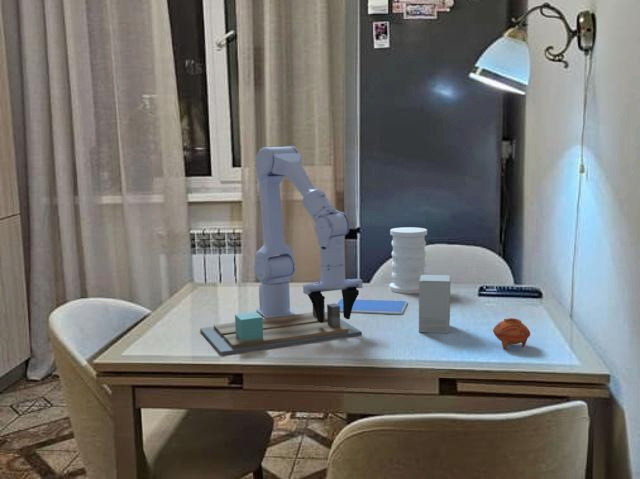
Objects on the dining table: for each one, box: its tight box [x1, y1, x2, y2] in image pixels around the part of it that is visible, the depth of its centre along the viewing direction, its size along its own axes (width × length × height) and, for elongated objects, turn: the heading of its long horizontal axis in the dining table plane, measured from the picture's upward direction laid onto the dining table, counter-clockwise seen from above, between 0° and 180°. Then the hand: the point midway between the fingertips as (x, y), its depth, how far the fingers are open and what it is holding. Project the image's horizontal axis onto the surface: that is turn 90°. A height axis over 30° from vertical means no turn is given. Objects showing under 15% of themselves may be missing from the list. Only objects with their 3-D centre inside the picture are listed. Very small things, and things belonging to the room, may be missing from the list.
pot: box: [492, 317, 531, 350], centre depth 154 cm, size 8×8×7 cm
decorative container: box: [388, 226, 428, 295], centre depth 209 cm, size 12×12×18 cm
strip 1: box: [213, 304, 327, 337], centre depth 171 cm, size 8×28×6 cm, turn 112°
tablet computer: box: [335, 298, 409, 316], centre depth 190 cm, size 19×13×1 cm, turn 76°
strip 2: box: [224, 302, 348, 348], centre depth 162 cm, size 8×28×6 cm, turn 112°
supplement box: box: [418, 274, 451, 334], centre depth 168 cm, size 7×7×13 cm
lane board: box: [199, 311, 363, 356], centre depth 168 cm, size 20×34×1 cm, turn 112°
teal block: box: [234, 311, 264, 342], centre depth 159 cm, size 5×5×5 cm
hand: (333, 320), depth 167 cm, fingers open, 6 cm apart
